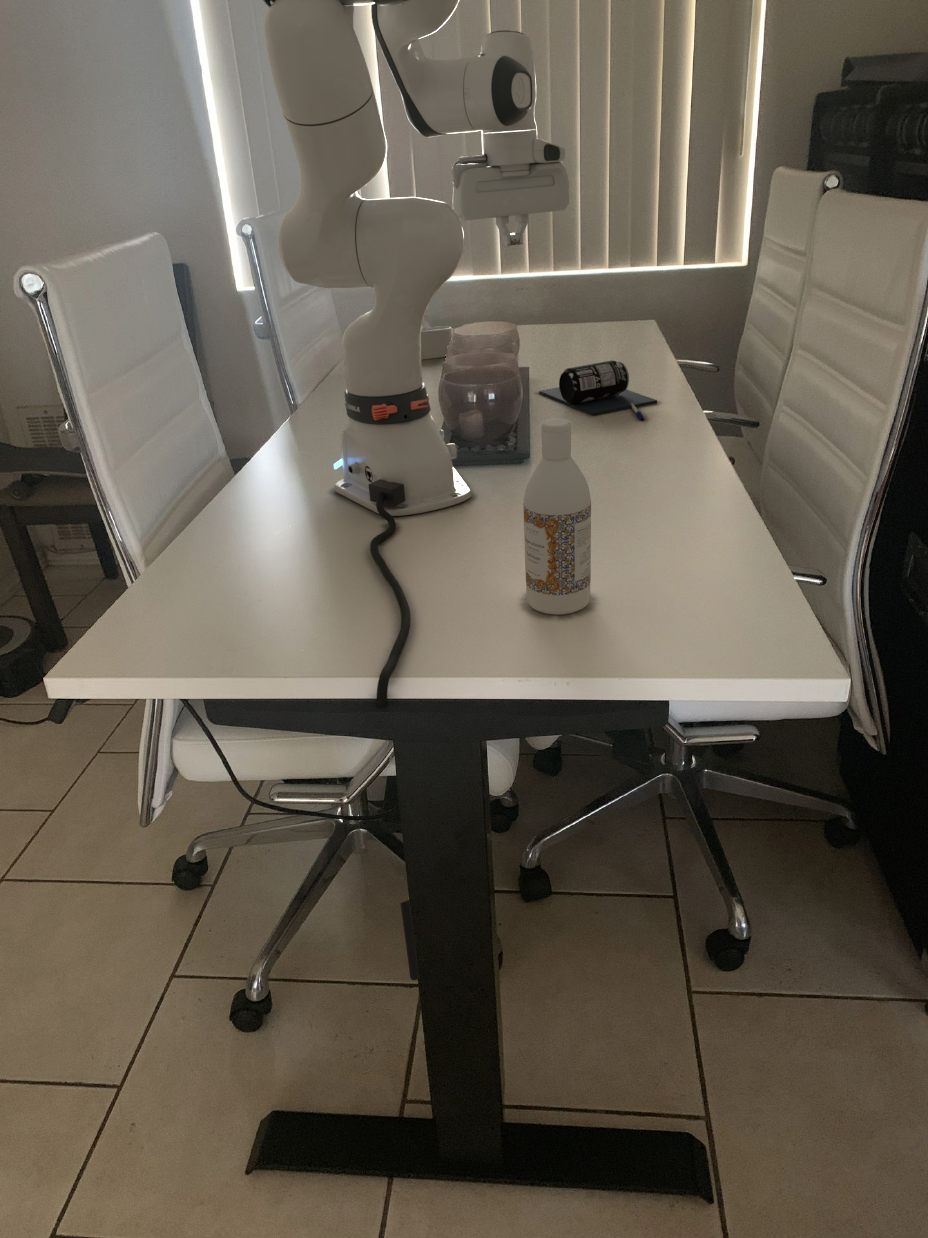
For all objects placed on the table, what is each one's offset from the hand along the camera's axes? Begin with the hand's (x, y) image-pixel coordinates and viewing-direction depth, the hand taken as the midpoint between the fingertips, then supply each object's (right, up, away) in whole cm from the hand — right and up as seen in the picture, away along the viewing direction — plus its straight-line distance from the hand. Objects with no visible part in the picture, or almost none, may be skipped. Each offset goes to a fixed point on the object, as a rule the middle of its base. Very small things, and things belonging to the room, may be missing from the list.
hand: (512, 245), depth 149 cm
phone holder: (-17, +3, +70) cm, 72 cm away
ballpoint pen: (+23, -26, +11) cm, 36 cm away
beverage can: (+11, -20, +15) cm, 27 cm away
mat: (+17, -20, +22) cm, 34 cm away
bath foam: (+2, -61, -52) cm, 80 cm away
